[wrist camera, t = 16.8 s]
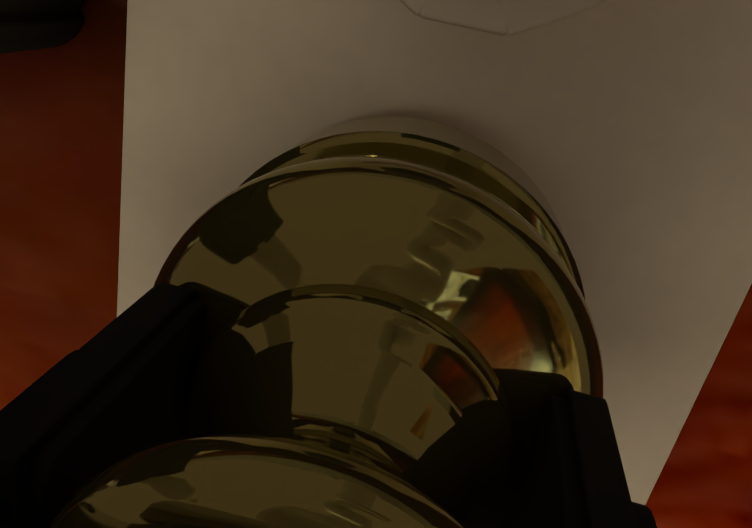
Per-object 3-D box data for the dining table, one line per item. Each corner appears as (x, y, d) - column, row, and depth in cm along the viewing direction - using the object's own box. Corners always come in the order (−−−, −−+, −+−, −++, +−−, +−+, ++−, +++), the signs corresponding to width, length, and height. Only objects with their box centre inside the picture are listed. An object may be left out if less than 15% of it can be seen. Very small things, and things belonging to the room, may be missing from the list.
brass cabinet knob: (594, 113, 12) (889, 491, 3) (555, 440, 15) (649, 1131, 6) (217, 106, 13) (-378, 366, 4) (248, 411, 16) (-65, 954, 7)
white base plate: (179, -394, 12) (84, -507, 9) (970, -262, 11) (1125, -345, 8) (140, 351, 19) (78, 412, 16) (627, 485, 18) (649, 576, 15)
